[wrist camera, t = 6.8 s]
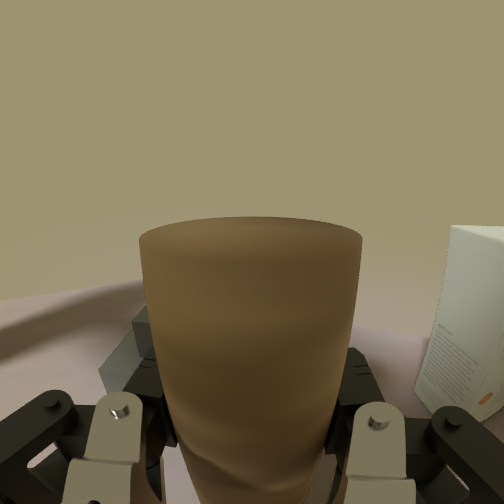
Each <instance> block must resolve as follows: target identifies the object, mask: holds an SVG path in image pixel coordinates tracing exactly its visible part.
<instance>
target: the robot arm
mask: <svg viewBox="0 0 504 504" xmlns="http://www.w3.org/2000/svg"><path fill="white" fill-rule="evenodd" d="M52 443H54V444H55V446H56V447H57V449H56V450H55V451H54V452H53V453H51V454H50V455H49V456H48V457H46V458H45V459H44V460H43V461H42V462H40V463H39V464H38V465H37V466H35V467H34V468H27V464H28V462H29V461H30V460H31V459H33V458H34V457H35V456H36V455H38V454H39V453H40V452H41V451H43V450H44V449H45V448H47V447H48V446H49V445H50V444H52ZM177 443H178V439H177V436H176V433H175V430H174V426H173V423H172V419H171V416H170V412H169V409H168V405H167V401H166V397H165V393H164V389H163V385H162V381H161V377H160V372H159V368H158V363H157V359H156V354H155V349H154V346H153V347H152V348H150V349H149V350H148V352H147V353H146V355H145V356H144V358H143V360H142V361H141V362H140V364H139V367H137V368H136V370H135V372H134V373H133V375H132V376H131V378H130V379H129V381H128V382H127V384H126V385H125V387H124V388H123V390H122V392H113V393H110V394H107V395H105V396H104V397H102V398H101V399H100V400H99V401H98V403H97V405H74V403H73V401H72V399H71V397H70V396H69V394H67V393H66V392H64V391H61V390H49V391H46V392H44V393H42V394H40V395H39V396H37V397H36V398H34V399H33V400H31V401H30V402H28V403H27V404H26V405H24V406H23V407H21V408H20V409H18V410H17V411H15V412H14V413H12V414H11V415H9V416H8V417H6V418H5V419H3V420H2V421H0V504H61V503H62V504H166V494H165V480H164V462H163V457H162V453H163V450H164V447H165V446H169V447H175V448H176V446H177ZM324 448H325V455H328V454H336V459H337V463H336V466H335V468H334V472H333V476H332V481H331V485H330V489H329V492H328V496H327V500H326V503H325V504H504V443H502V442H501V441H500V440H499V439H498V438H497V437H496V436H495V435H493V434H492V433H491V432H490V431H489V430H488V429H487V428H485V427H484V426H483V425H482V424H481V423H480V422H479V421H477V420H476V419H475V418H474V417H473V416H472V415H471V414H469V413H468V412H467V411H466V410H464V409H462V408H460V407H457V406H444V407H441V408H439V409H438V410H436V411H435V412H434V414H433V416H432V418H431V419H415V418H406V417H404V416H403V414H402V413H401V411H400V410H399V409H398V408H397V407H395V406H393V405H391V404H389V403H385V401H384V398H383V396H382V394H381V392H380V389H379V387H378V385H377V383H376V381H375V378H374V376H373V374H372V372H371V370H370V368H369V367H368V363H367V361H366V359H365V357H364V355H363V354H361V353H360V352H359V351H358V350H357V349H355V348H348V351H347V356H346V361H345V366H344V370H343V375H342V380H341V384H340V388H339V392H338V397H337V401H336V405H335V409H334V412H333V416H332V420H331V423H330V427H329V430H328V434H327V437H326V441H325V444H324ZM447 465H448V466H449V467H450V468H451V469H452V470H453V471H454V472H455V473H456V474H457V475H458V476H459V477H460V478H461V479H462V480H463V482H464V483H465V484H466V485H467V486H468V488H469V490H470V491H469V490H467V489H466V488H465V487H464V486H463V485H462V484H461V483H460V481H459V480H458V479H457V478H456V477H455V476H454V475H453V474H452V473H451V472H450V471H449V470H448V469H447V467H446V466H447Z"/></svg>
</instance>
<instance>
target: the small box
mask: <svg viewBox="0 0 504 504" xmlns="http://www.w3.org/2000/svg"><path fill="white" fill-rule="evenodd" d="M413 390H414V393H415V394H416V395H417V396H418V398H419V399H420V400H421V401H422V402H423V404H424V405H425V406H426V407H427V409H428V410H429V411H430V412H431V414H432V415H433V414H434V412H435V411H436V410H438V409H439V408H441V407H444V406H457V407H460V408H462V409H464V410H466V411H467V412H468V413H469V414H471V415H472V416H473V417H474V418H475V419H476V420H477V421H479V422H482V421H483V420H485V419H486V418H488V417H489V416H491V415H492V414H494V413H495V412H497V411H498V410H499V409H501V408H502V407H504V227H496V226H463V225H451V226H450V235H449V243H448V251H447V259H446V266H445V272H444V279H443V284H442V289H441V295H440V299H439V304H438V309H437V313H436V317H435V321H434V325H433V329H432V333H431V336H430V340H429V343H428V347H427V350H426V354H425V357H424V360H423V363H422V366H421V369H420V372H419V375H418V378H417V380H416V383H415V386H414V389H413Z"/></svg>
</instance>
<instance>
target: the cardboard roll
mask: <svg viewBox="0 0 504 504" xmlns="http://www.w3.org/2000/svg"><path fill="white" fill-rule="evenodd" d="M139 244H140V255H141V265H142V273H143V282H144V289H145V296H146V303H147V310H148V316H149V322H150V328H151V333H152V339H153V344H154V349H155V354H156V359H157V363H158V368H159V372H160V377H161V381H162V385H163V389H164V393H165V397H166V401H167V405H168V409H169V412H170V416H171V419H172V423H173V426H174V430H175V433H176V436H177V439H178V443H179V446H180V449H181V452H182V455H183V458H184V461H185V464H186V466H187V469H188V472H189V475H190V477H191V480H192V483H193V485H194V488H195V491H196V493H197V496H198V498H199V500H200V503H201V504H303V503H304V501H305V498H306V496H307V493H308V491H309V488H310V485H311V483H312V480H313V477H314V474H315V471H316V469H317V466H318V463H319V460H320V457H321V453H322V450H323V447H324V444H325V441H326V437H327V434H328V430H329V427H330V423H331V420H332V416H333V412H334V409H335V405H336V401H337V397H338V392H339V388H340V384H341V380H342V375H343V370H344V366H345V361H346V356H347V351H348V345H349V340H350V334H351V329H352V322H353V316H354V310H355V303H356V294H357V287H358V279H359V271H360V261H361V250H362V236H361V235H360V234H359V233H357V232H356V231H354V230H351V229H349V228H346V227H343V226H339V225H335V224H331V223H326V222H320V221H313V220H306V219H296V218H281V217H224V218H210V219H200V220H192V221H185V222H179V223H174V224H169V225H165V226H161V227H158V228H155V229H152V230H150V231H147V232H146V233H144V234H143V235H141V237H140V238H139Z"/></svg>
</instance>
